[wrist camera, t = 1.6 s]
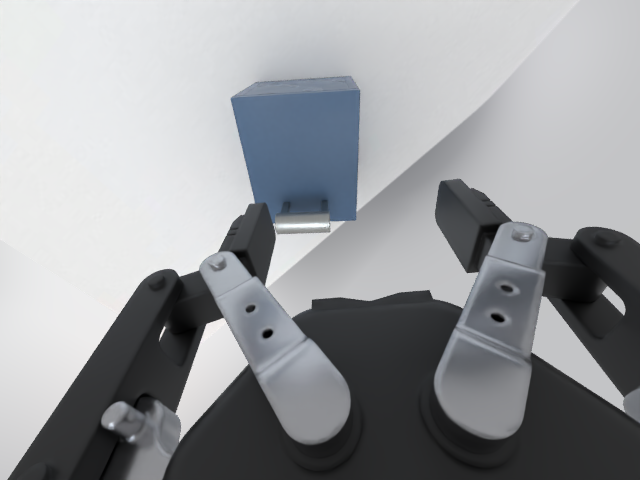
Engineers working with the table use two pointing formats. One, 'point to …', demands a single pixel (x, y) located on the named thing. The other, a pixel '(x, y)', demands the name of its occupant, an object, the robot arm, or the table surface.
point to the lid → (302, 155)
